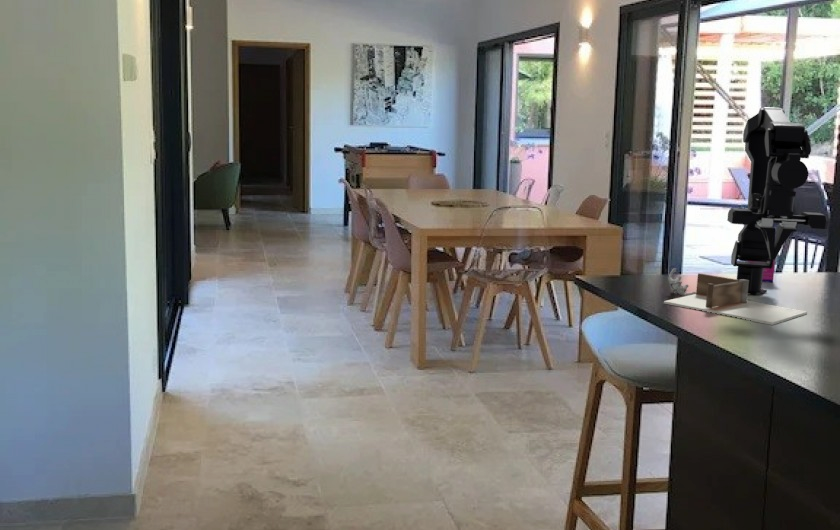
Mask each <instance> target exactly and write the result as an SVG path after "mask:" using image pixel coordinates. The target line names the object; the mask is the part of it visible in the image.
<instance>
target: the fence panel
mask: <svg viewBox="0 0 840 530" xmlns="http://www.w3.org/2000/svg"><path fill="white" fill-rule="evenodd" d="M742 285H743V282H741V281H737V282H730V283H724V284H718V285H714V284H711V283H709V284H708V286H707V298H706V307H707V308H712V307H717V306H722V305H727V304H733V303H738V302H740V301H741V291H742Z"/></svg>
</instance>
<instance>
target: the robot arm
mask: <svg viewBox="0 0 840 530" xmlns="http://www.w3.org/2000/svg"><path fill="white" fill-rule="evenodd" d="M808 133H809V131H808V130H807V129H806V128H805V125H804V124H803V123H800V122H792V121H790V119H789V118H788V116H787V115H786V113H785V109H784V108H781V107H773V106H772V107H771V106H767V107H765V106H764V107H761V108H759V111H758V113H756V114H755V115H753V116H751V117H750V118H748V119H747V121H746V123H745V127H744V128H743V133H742V134H743V135H742V136H743V137H742V141H743V143H745V144H744V152H745V154H746V155H747V157H748V159H749V160H750V173H749V183H748V184H749V185H748V197H747V208H737V207H731V208H730V209H729V210H728V213H727V220H726V221H728V223H730V224H733V225H744V226H743V227H742V228H741V230H740V231H739V233H738V235H737V236H738V237H737V240H735V242H734V245H733V248H732V252H731V257H730V263H731V266H733V267H737V270H736V271H737V272H736V279H737V280H739V279H745V280H749V285H748V295H752V296H753V295H754V296H756V295H760V294H761V295H762V294H765V293H767V292H768V291H767V289H762V288H763V287H762V286H763V282H762V278H763V269H764V268H768V269H771V268H773V261H774V260H775V261H776V258H777V257H778V255H779V253H780V251H781V250H782V248H783V246H784V244H785V243H786V241H787V240H788V238H789V237H790V236H791V235H792V233H794V232H795V233H796V232H798V228H797V225H803V226H809V227H810V229H817V230H827V229H828V225H829V224H828V223H829V219H828V216H826V215H825V214H823V213H821V212H811V211H802V212H801V214H800V215H798V214H797V215H796V214H794V202H795V197H796V195H797V191H796V189H799V188H801V187H802V186H803V185H805V184H806V182H807V181H808V178H809V170H808V167H807V166H806V164H805V163H804V162H803V161H801V159H809V158H810V155H811V153H812V146H811V140H810V138H811V137H810V135H809V134H808ZM775 223H777V224H775ZM774 224H775V227H774ZM747 261H754V262H747ZM759 262H765V263H759Z"/></svg>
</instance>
